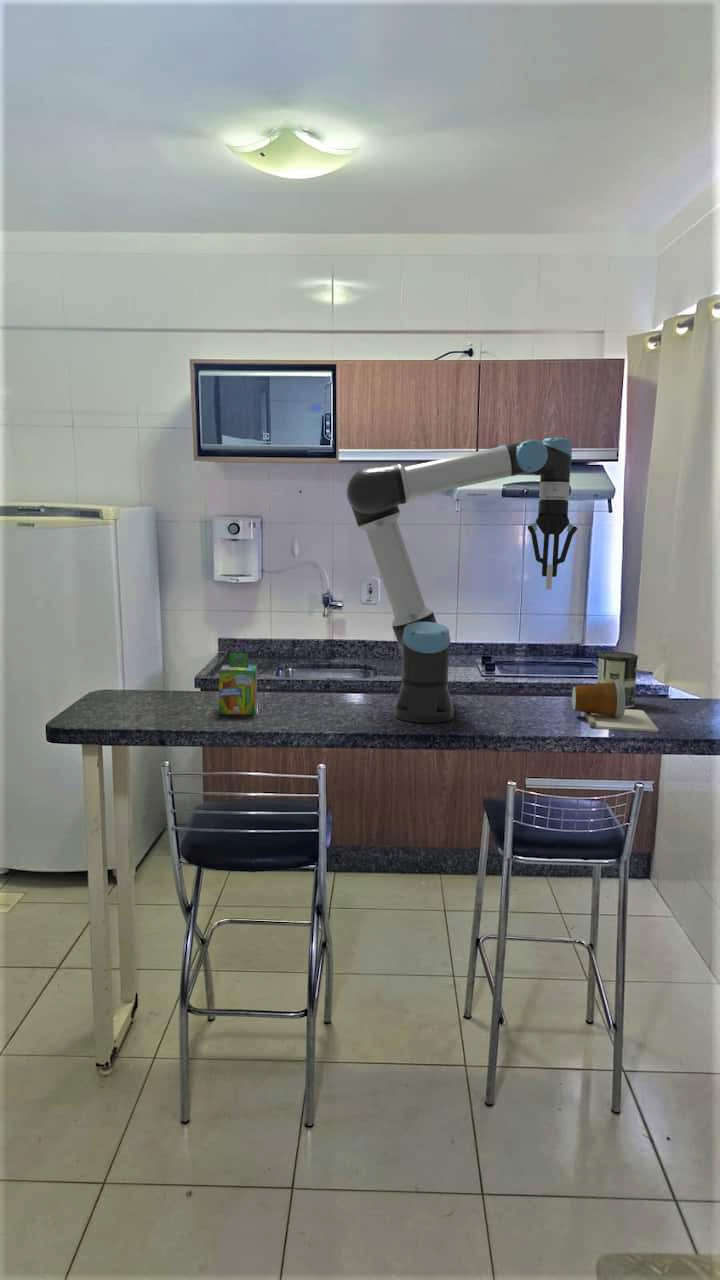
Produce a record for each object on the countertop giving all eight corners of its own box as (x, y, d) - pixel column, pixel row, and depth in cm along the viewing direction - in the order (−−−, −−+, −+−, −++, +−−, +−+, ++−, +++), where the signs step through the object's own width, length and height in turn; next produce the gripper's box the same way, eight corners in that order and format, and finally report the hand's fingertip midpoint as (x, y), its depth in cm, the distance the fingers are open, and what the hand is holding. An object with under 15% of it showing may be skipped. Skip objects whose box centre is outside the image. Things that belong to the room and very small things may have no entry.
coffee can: (626, 700, 226) (630, 651, 224) (639, 709, 216) (643, 658, 214) (590, 699, 226) (594, 650, 224) (601, 708, 216) (605, 657, 214)
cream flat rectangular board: (590, 728, 195) (590, 722, 195) (580, 708, 215) (581, 703, 215) (658, 732, 193) (659, 726, 193) (642, 712, 212) (643, 706, 212)
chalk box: (218, 715, 200) (218, 657, 197) (222, 707, 209) (221, 651, 206) (255, 715, 200) (255, 657, 198) (257, 707, 209) (257, 651, 207)
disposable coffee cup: (570, 708, 211) (617, 709, 209) (575, 722, 202) (624, 723, 200) (572, 674, 208) (619, 675, 207) (577, 687, 199) (627, 688, 197)
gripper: (528, 498, 206) (523, 589, 210) (580, 499, 204) (574, 591, 207) (528, 498, 213) (523, 586, 217) (578, 499, 211) (572, 588, 215)
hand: (548, 589), depth 212 cm, fingers closed
